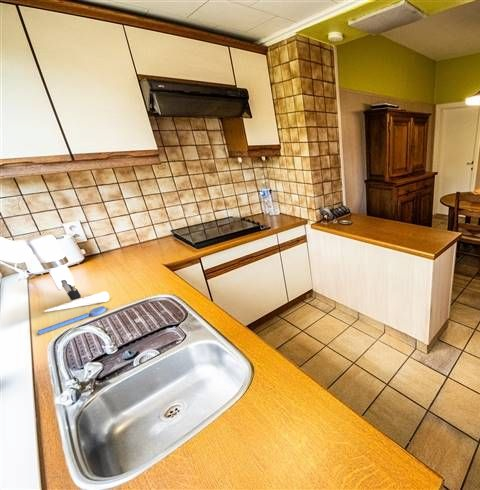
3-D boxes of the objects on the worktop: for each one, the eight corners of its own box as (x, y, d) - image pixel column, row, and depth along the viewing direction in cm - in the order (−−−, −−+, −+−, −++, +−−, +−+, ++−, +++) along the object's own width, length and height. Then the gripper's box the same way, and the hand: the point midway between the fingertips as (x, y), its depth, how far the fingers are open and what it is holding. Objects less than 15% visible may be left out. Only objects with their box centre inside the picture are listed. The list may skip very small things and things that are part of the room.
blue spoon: (38, 336, 101) (36, 333, 101) (40, 330, 104) (38, 328, 104) (106, 311, 114) (105, 309, 113) (105, 307, 117) (104, 304, 117)
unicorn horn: (50, 307, 119) (44, 298, 117) (111, 297, 124) (107, 289, 122) (41, 313, 115) (35, 304, 113) (105, 303, 120) (100, 294, 118)
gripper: (43, 261, 116) (65, 296, 124) (40, 271, 107) (63, 308, 114) (68, 255, 121) (87, 289, 129) (67, 264, 112) (87, 300, 119)
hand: (76, 298), depth 121 cm, fingers closed
